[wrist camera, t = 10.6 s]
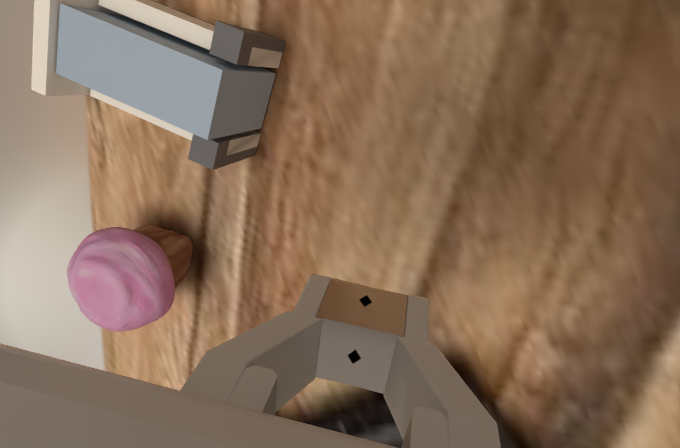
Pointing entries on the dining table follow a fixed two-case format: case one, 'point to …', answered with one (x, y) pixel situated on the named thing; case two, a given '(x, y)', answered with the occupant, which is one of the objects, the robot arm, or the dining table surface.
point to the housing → (139, 6)
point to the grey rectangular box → (161, 73)
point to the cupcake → (128, 275)
